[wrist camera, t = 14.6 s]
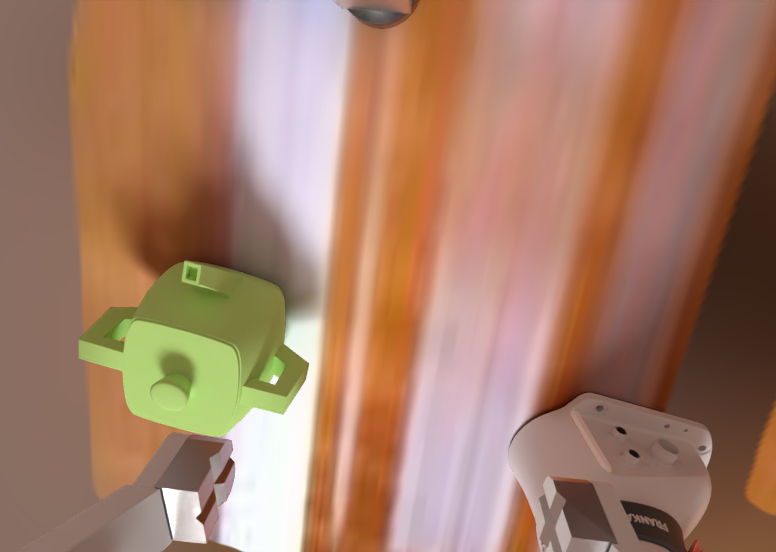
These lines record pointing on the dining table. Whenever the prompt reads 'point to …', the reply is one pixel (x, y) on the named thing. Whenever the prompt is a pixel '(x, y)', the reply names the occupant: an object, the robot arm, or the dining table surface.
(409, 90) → the dining table surface
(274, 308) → the teapot
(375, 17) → the ratchet
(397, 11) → the cube with grey knob
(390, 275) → the dining table surface
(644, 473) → the robot arm
